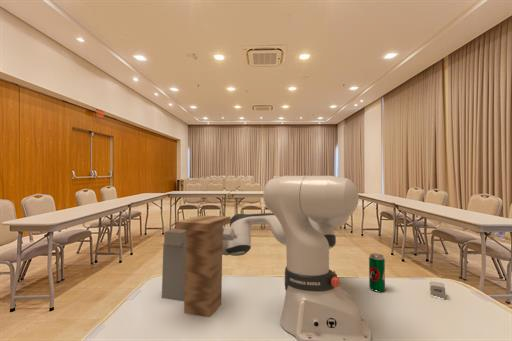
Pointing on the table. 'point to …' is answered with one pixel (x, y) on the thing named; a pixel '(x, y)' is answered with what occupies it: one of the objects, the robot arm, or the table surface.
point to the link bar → (175, 237)
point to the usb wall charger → (437, 289)
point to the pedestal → (173, 272)
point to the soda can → (377, 272)
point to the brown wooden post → (203, 263)
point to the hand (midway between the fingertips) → (204, 225)
